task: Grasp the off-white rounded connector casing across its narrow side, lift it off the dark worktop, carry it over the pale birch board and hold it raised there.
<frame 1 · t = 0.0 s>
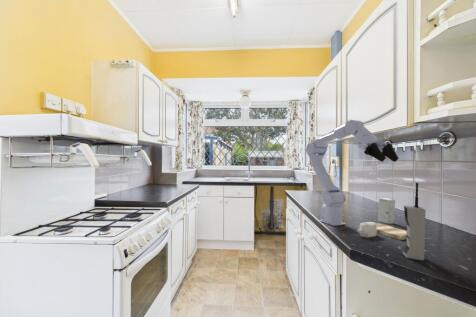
hand: (390, 159, 92), 32 cm above the worktop, tool tilted 50°, fingers open, 7 cm apart
vintage mobile phone: (412, 257, 78), on the worktop
birch board: (388, 232, 104), on the worktop
skincare box: (386, 222, 121), on the worktop
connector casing: (368, 235, 100), on the worktop
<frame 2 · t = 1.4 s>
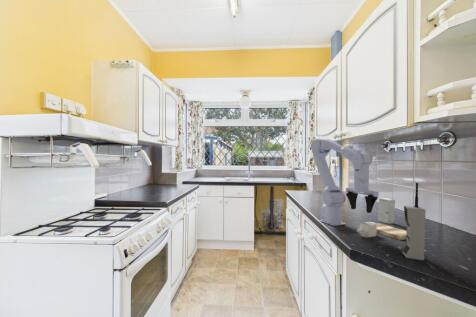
hand: (361, 210, 103), 10 cm above the worktop, tool pointing down, fingers open, 7 cm apart
nothing on the worktop moved.
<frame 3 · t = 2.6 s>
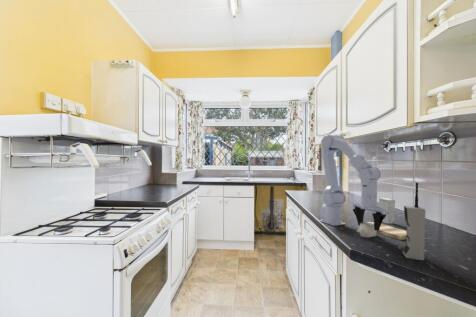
hand: (368, 227, 100), 3 cm above the worktop, tool pointing down, fingers open, 7 cm apart
nothing on the worktop moved.
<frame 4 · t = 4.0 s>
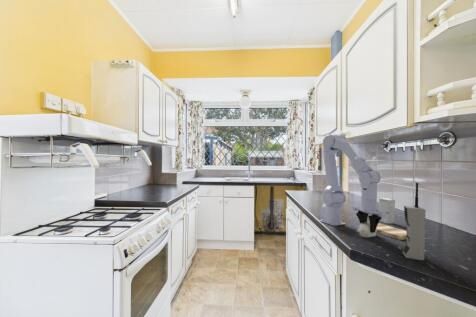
hand: (368, 230, 100), 2 cm above the worktop, tool pointing down, fingers closed on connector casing, 4 cm apart
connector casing: (368, 235, 100), on the worktop, touching gripper
everything else where it was.
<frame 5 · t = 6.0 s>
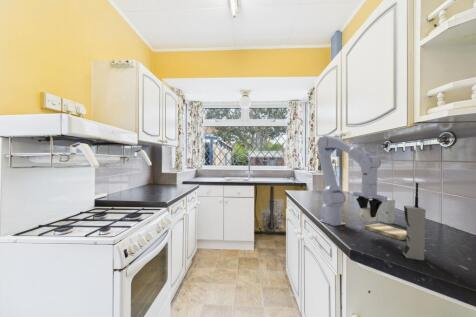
hand: (368, 215, 100), 8 cm above the worktop, tool pointing down, fingers closed on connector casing, 4 cm apart
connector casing: (368, 220, 100), point 6 cm above the worktop, touching gripper
everything else where it was.
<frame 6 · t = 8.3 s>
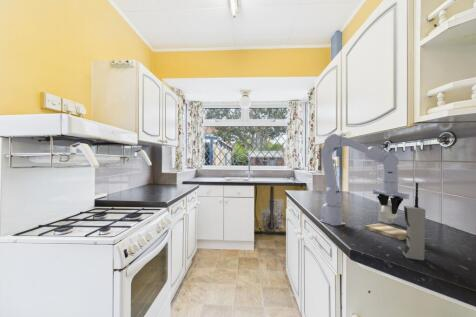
hand: (389, 212, 104), 9 cm above the worktop, tool pointing down, fingers closed on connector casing, 4 cm apart
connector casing: (389, 217, 104), point 7 cm above the worktop, touching gripper
everything else where it was.
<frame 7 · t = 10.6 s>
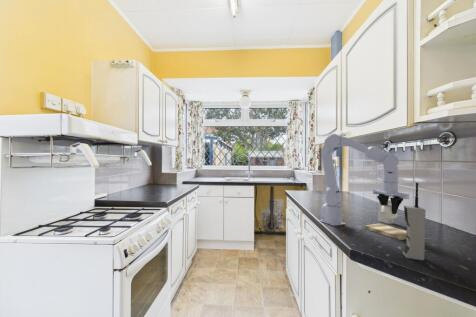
hand: (389, 212, 104), 9 cm above the worktop, tool pointing down, fingers closed on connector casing, 4 cm apart
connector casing: (389, 217, 104), point 7 cm above the worktop, touching gripper
everything else where it was.
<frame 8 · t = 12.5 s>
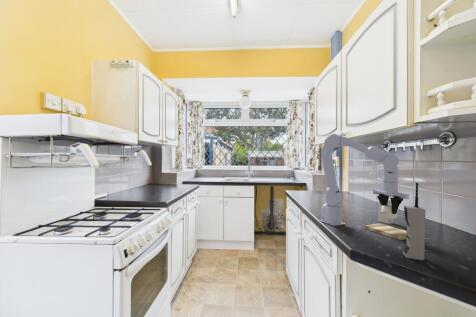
hand: (389, 212, 104), 9 cm above the worktop, tool pointing down, fingers closed on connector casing, 4 cm apart
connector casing: (389, 217, 104), point 7 cm above the worktop, touching gripper
everything else where it was.
at the end: the gripper is holding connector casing; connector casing point 7.0 cm above the worktop; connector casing 0.0 cm from the birch board (horizontally) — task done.
